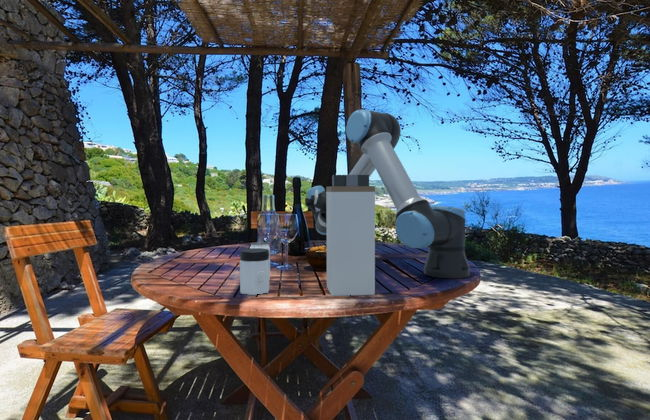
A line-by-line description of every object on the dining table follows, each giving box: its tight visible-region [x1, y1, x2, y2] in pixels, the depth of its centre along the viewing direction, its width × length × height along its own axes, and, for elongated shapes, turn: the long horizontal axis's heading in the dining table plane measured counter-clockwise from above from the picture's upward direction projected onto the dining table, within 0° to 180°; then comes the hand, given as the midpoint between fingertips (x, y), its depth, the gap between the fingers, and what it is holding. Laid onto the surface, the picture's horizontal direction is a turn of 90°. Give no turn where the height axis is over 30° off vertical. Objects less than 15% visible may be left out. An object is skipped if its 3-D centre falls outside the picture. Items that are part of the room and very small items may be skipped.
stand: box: [325, 185, 376, 297], centre depth 124 cm, size 12×12×30 cm
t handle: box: [331, 174, 370, 186], centre depth 129 cm, size 20×10×3 cm, turn 7°
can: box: [249, 241, 271, 280], centre depth 139 cm, size 6×6×12 cm
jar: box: [239, 248, 270, 296], centre depth 123 cm, size 9×8×12 cm
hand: (336, 193), depth 146 cm, fingers open, 13 cm apart
